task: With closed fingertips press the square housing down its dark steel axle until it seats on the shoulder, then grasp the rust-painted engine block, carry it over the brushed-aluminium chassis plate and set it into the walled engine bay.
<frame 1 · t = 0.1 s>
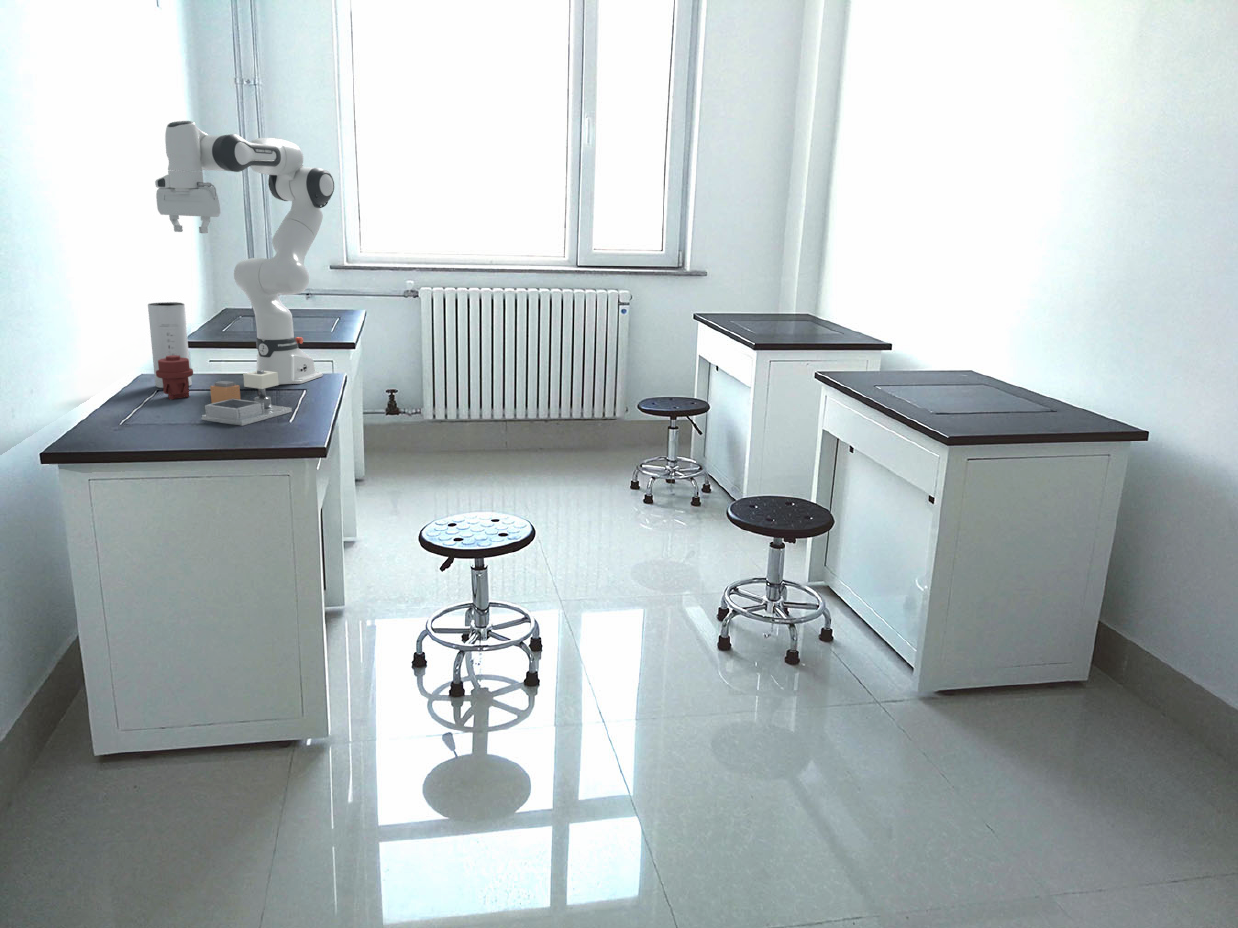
hand: (191, 232, 275), 48 cm above the table, fingers open, 8 cm apart
chassis: (247, 415, 267), on the table
square housing: (261, 379, 270), point 9 cm above the table, slide at 0.0 cm
mechanical component: (177, 398, 288), on the table
block: (226, 406, 278), on the table
speaker: (174, 386, 304), on the table
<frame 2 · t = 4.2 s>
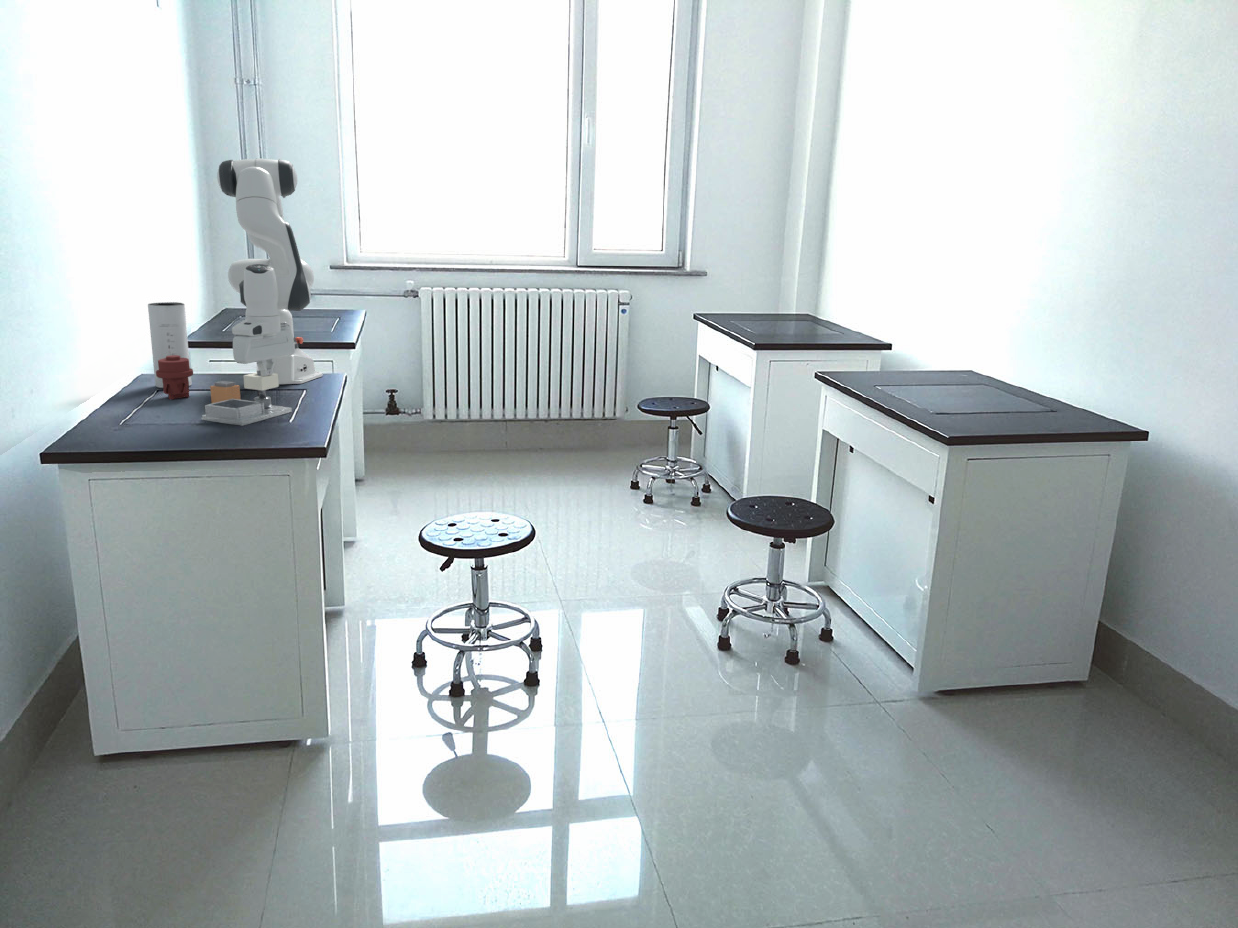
hand: (267, 375, 269), 11 cm above the table, fingers closed
square housing: (261, 381, 270), point 9 cm above the table, slide at 0.5 cm, touching gripper
everything else where it was.
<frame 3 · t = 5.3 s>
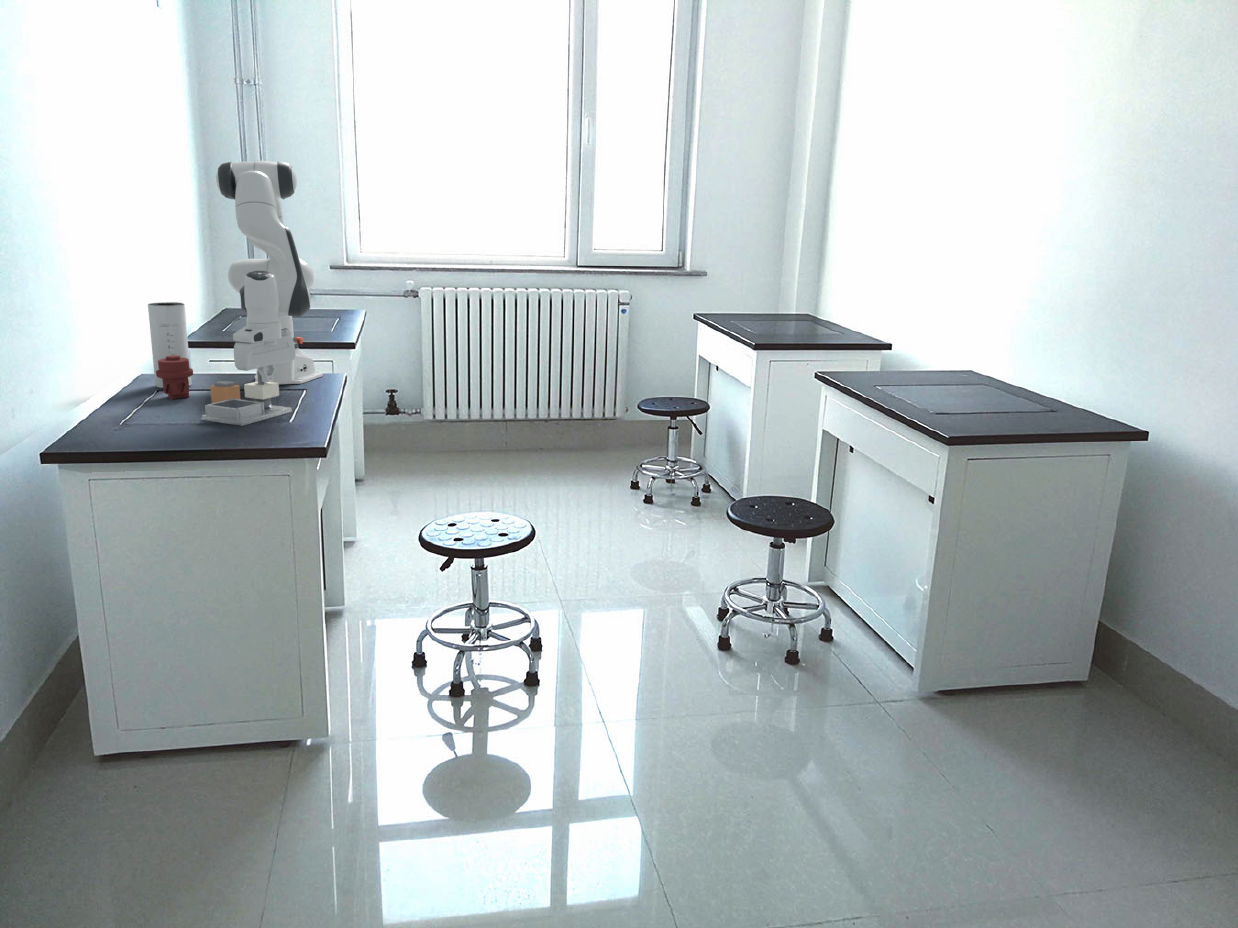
hand: (268, 381, 270), 9 cm above the table, fingers closed
square housing: (261, 389, 271), point 6 cm above the table, slide at 3.0 cm
everything else where it was.
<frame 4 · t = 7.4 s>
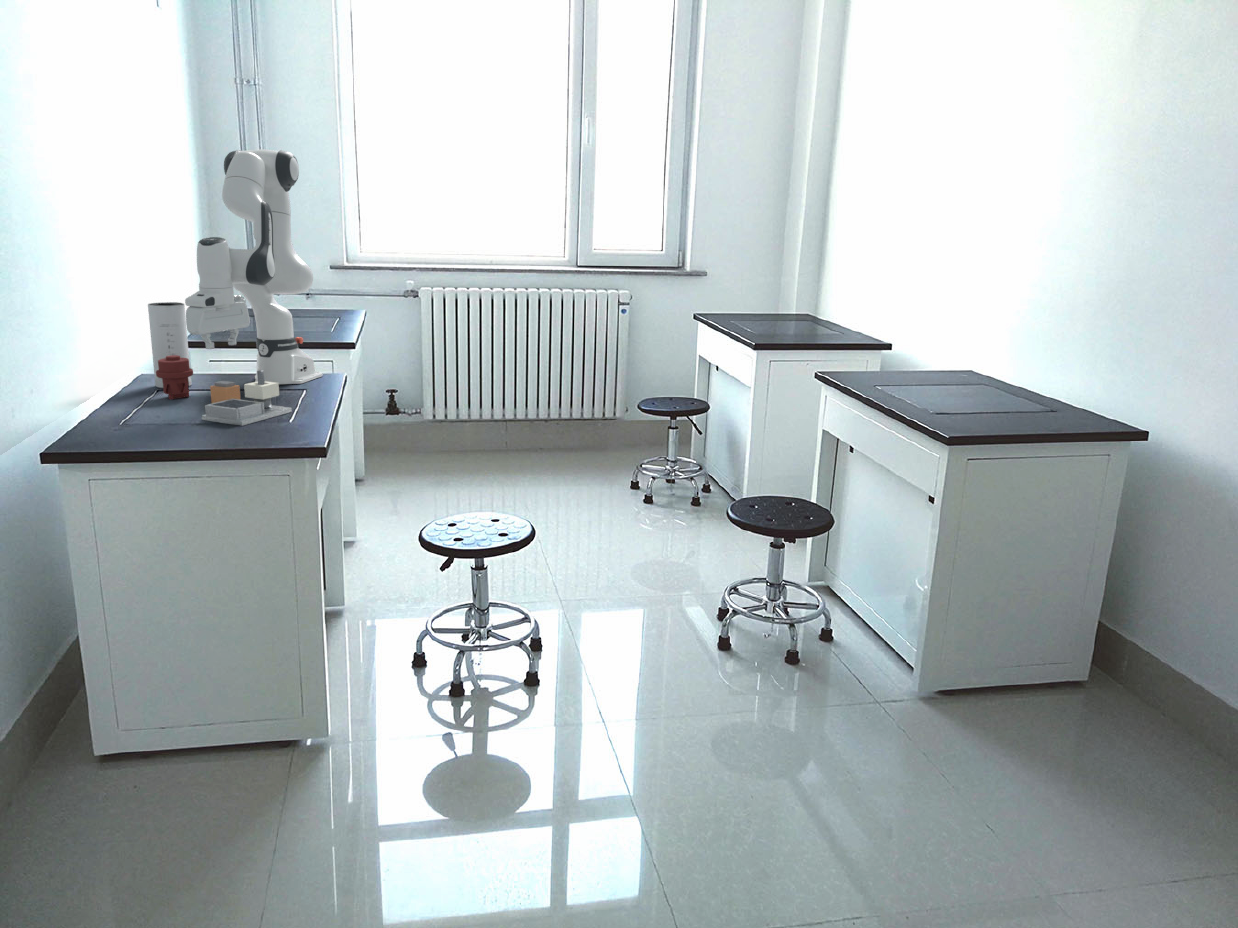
hand: (221, 346, 274), 17 cm above the table, fingers open, 7 cm apart
nothing on the table moved.
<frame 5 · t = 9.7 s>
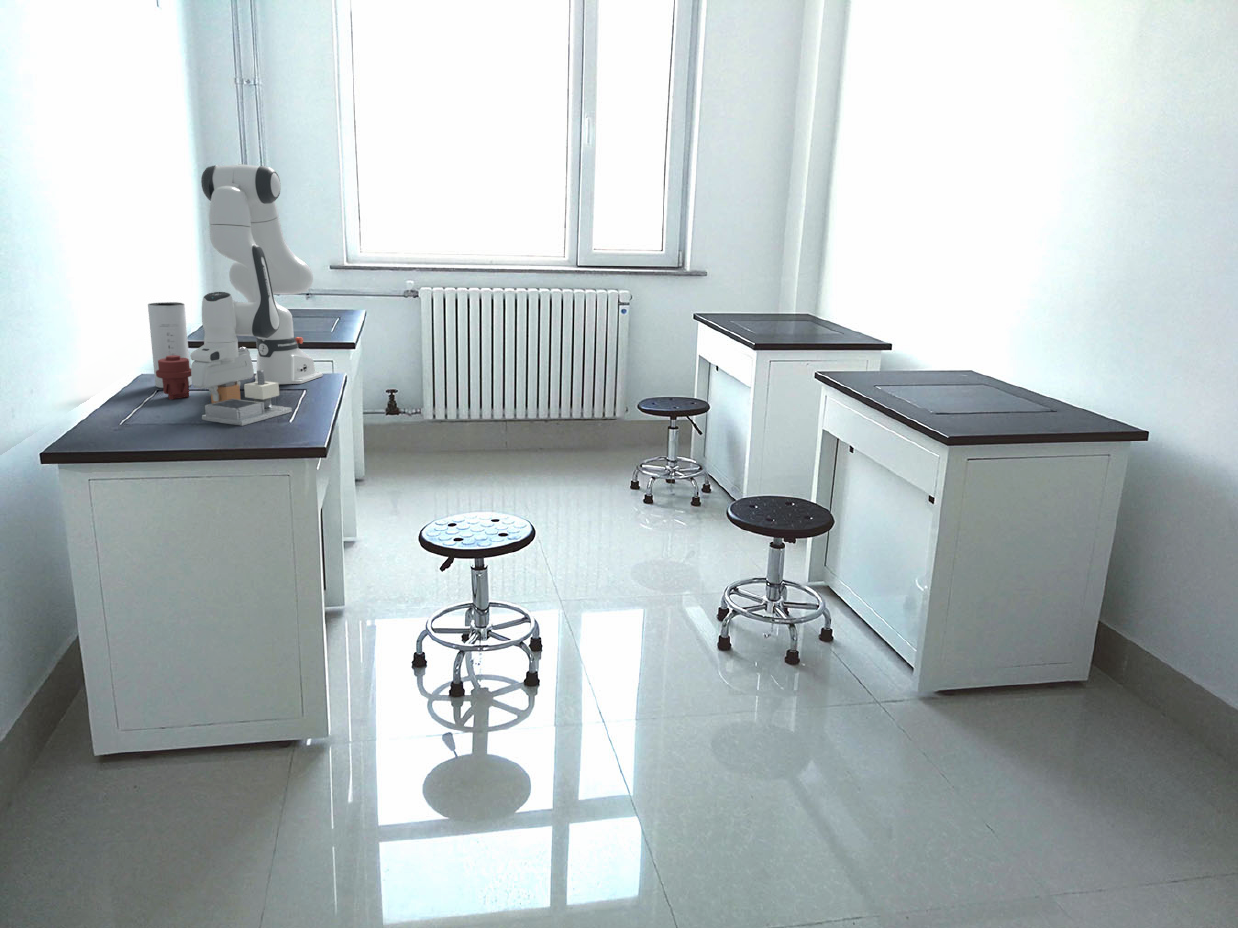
hand: (225, 398, 278), 2 cm above the table, fingers closed on block, 5 cm apart
block: (226, 406, 278), on the table, touching gripper
everything else where it was.
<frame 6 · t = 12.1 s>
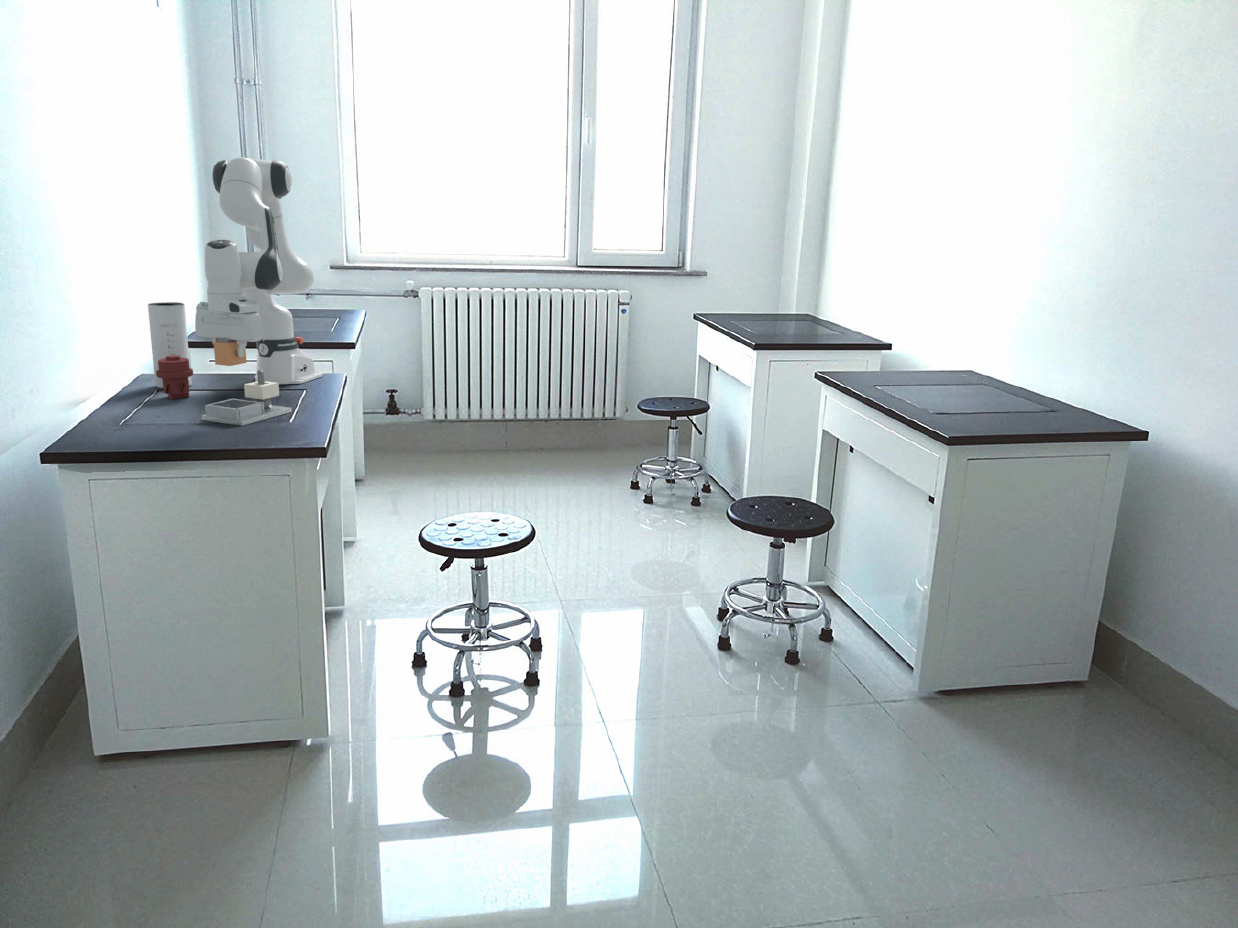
hand: (230, 355, 259), 17 cm above the table, fingers closed on block, 5 cm apart
block: (231, 363, 259), point 15 cm above the table, touching gripper
everything else where it was.
when the fingers open (5 cm above the table, at t = 14.8 s): block drops 1 cm, resting on chassis.
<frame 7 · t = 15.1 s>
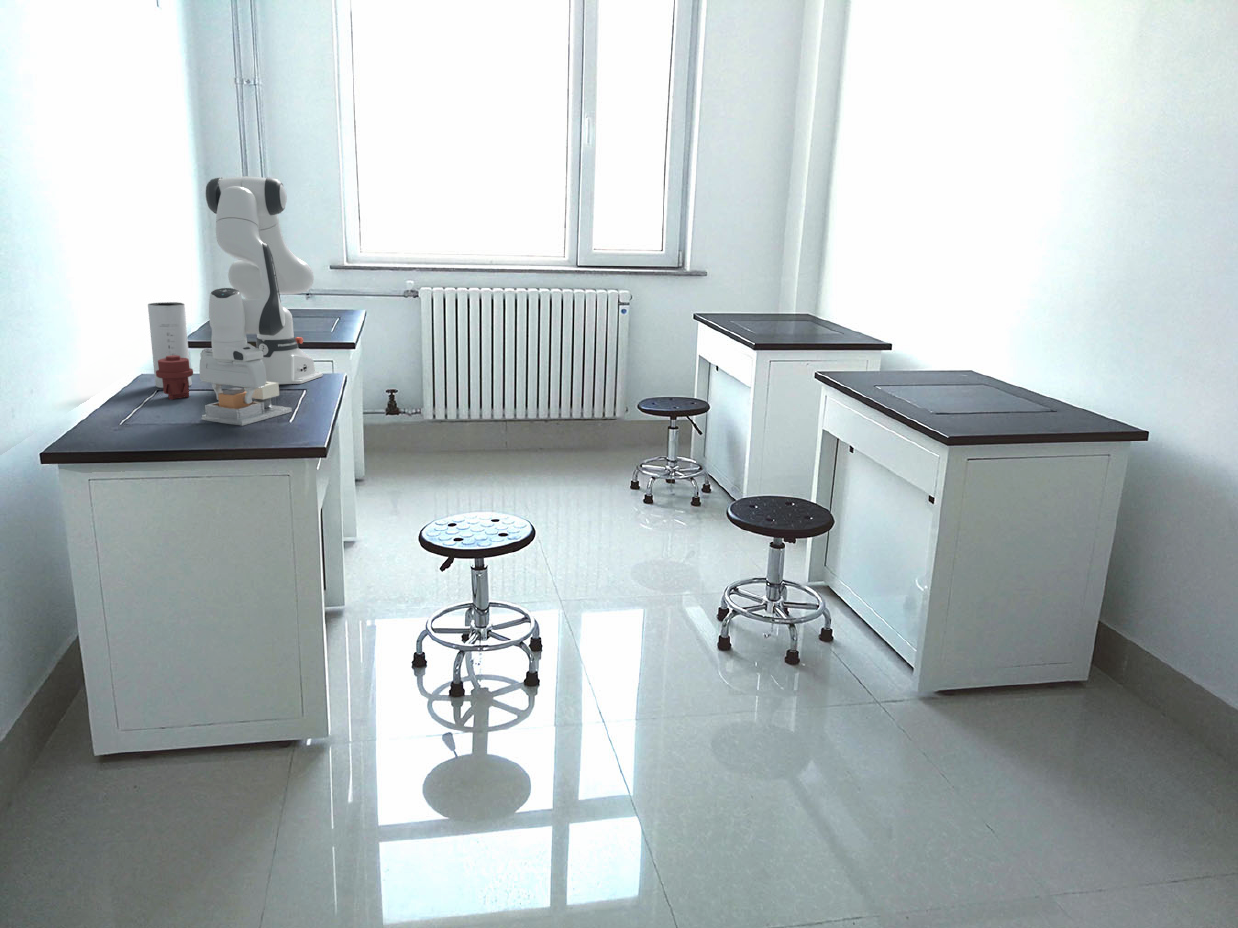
hand: (234, 401, 262), 5 cm above the table, fingers open, 8 cm apart
block: (235, 414, 263), point 1 cm above the table, touching chassis
everything else where it was.
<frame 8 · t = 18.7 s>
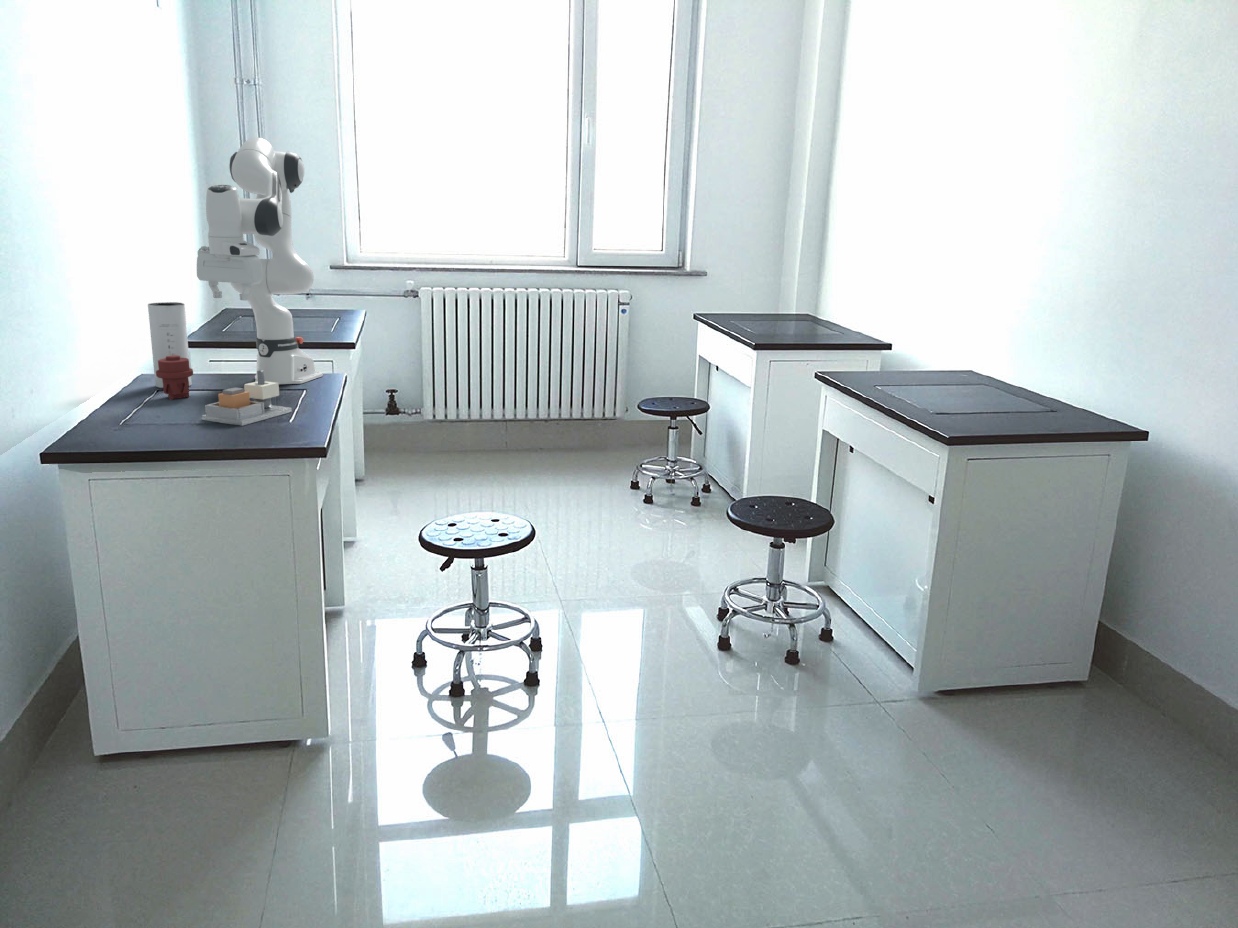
hand: (231, 299, 265), 31 cm above the table, fingers open, 8 cm apart
nothing on the table moved.
at the end: block 0.1 cm from the target spot on the chassis, point 1.2 cm above the chassis's base; block tilted 0°; square housing slide at 3.0 cm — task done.
